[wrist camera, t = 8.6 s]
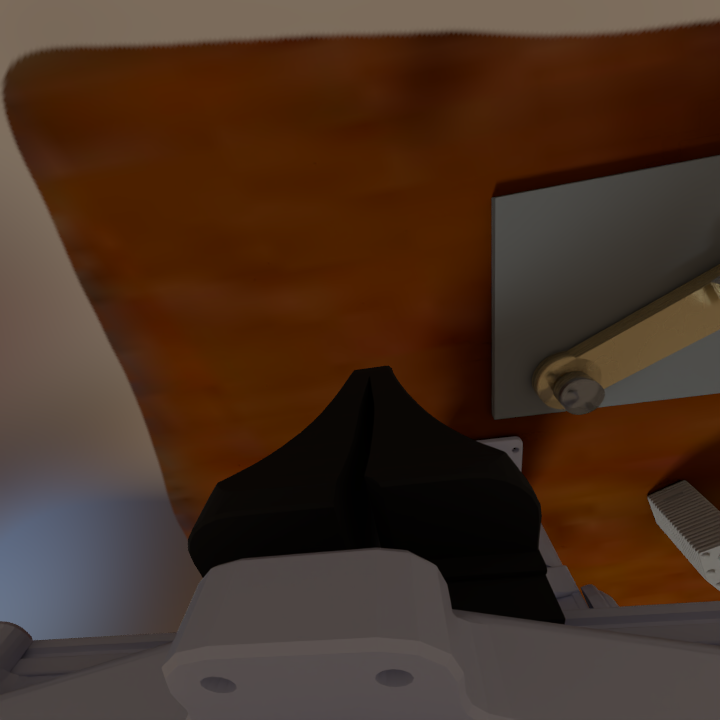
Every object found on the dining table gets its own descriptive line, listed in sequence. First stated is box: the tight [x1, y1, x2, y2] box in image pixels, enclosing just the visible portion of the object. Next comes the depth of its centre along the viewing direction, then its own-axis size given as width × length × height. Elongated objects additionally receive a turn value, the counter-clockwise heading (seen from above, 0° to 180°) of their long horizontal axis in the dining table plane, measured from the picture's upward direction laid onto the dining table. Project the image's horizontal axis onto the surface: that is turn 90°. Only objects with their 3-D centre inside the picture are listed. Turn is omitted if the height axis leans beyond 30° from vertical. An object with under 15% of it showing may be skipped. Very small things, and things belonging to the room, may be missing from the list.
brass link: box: [532, 264, 720, 409], centre depth 19 cm, size 12×4×1 cm, turn 128°
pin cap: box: [553, 371, 605, 415], centre depth 19 cm, size 2×2×1 cm
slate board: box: [492, 155, 720, 420], centre depth 19 cm, size 14×16×1 cm
